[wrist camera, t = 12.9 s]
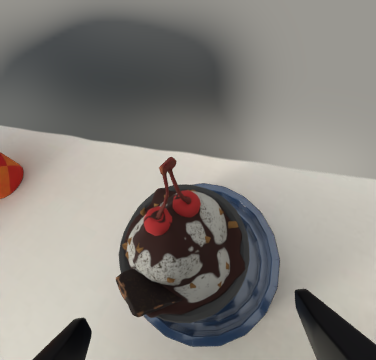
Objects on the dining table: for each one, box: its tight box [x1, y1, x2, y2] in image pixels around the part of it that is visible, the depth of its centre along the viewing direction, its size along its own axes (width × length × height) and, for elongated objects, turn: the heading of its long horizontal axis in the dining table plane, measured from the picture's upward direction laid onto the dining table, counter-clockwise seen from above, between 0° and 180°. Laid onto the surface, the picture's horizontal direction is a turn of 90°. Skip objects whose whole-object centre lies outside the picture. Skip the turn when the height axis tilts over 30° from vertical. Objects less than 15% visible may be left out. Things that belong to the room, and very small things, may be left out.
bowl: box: [144, 183, 280, 347], centre depth 18 cm, size 12×12×4 cm
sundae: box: [116, 157, 250, 323], centre depth 13 cm, size 7×7×15 cm
